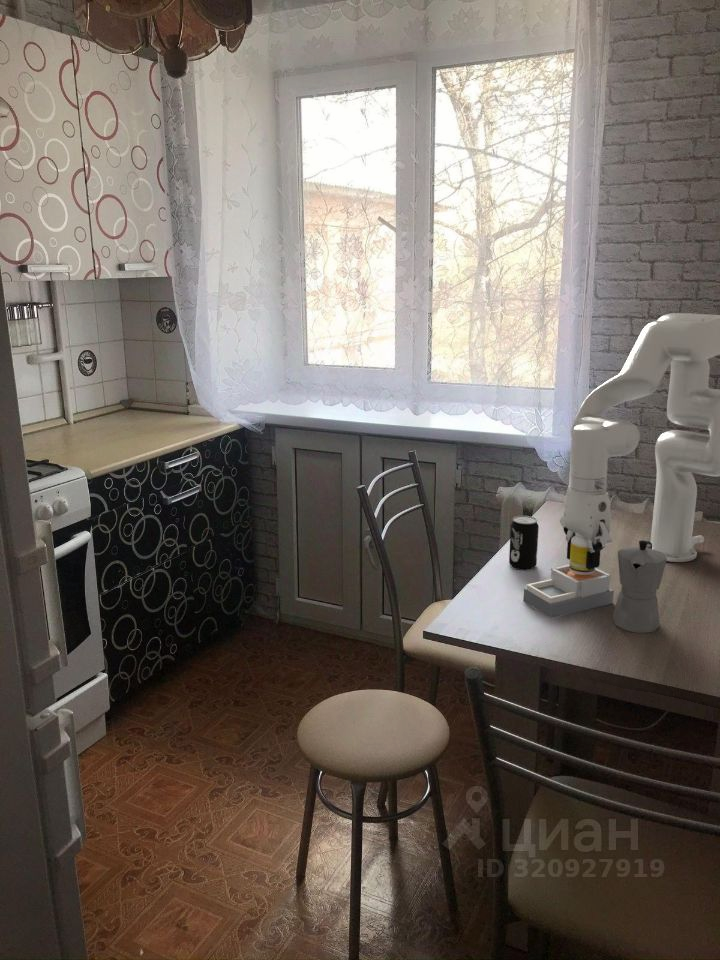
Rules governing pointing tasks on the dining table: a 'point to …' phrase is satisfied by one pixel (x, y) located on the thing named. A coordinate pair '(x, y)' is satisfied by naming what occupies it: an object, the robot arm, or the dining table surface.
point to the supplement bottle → (579, 555)
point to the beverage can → (523, 542)
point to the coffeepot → (639, 588)
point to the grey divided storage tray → (568, 593)
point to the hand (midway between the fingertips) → (582, 562)
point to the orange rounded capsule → (580, 576)
